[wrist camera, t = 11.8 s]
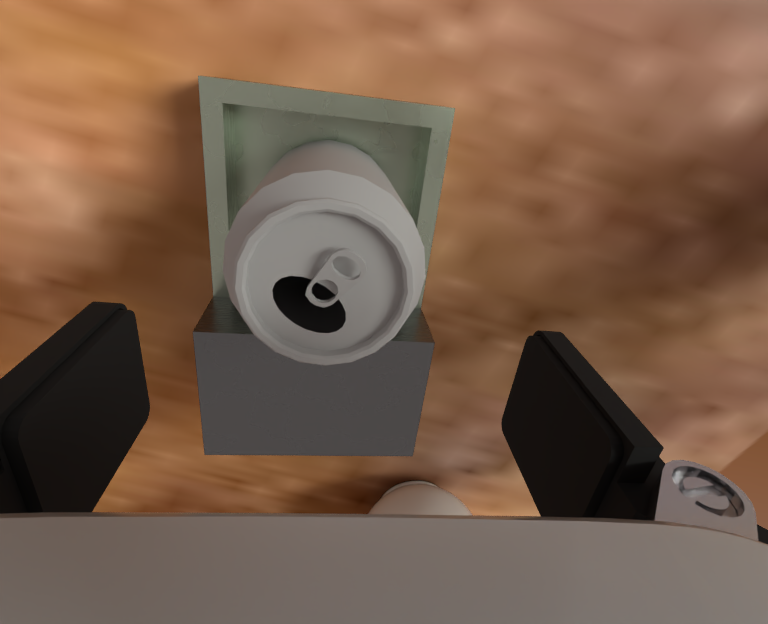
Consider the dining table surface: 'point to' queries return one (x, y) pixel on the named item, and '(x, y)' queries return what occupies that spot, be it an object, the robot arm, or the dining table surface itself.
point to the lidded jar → (419, 500)
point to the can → (324, 256)
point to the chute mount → (231, 333)
